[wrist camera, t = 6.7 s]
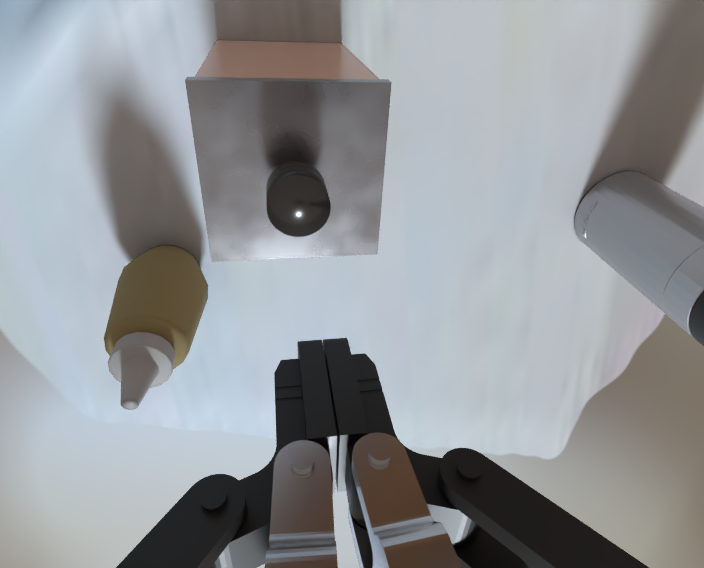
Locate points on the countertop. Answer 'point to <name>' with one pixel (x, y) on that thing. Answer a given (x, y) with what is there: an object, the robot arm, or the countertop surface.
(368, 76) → the open tunnel frame
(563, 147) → the countertop surface
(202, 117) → the drawer with knob
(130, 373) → the squeeze bottle
